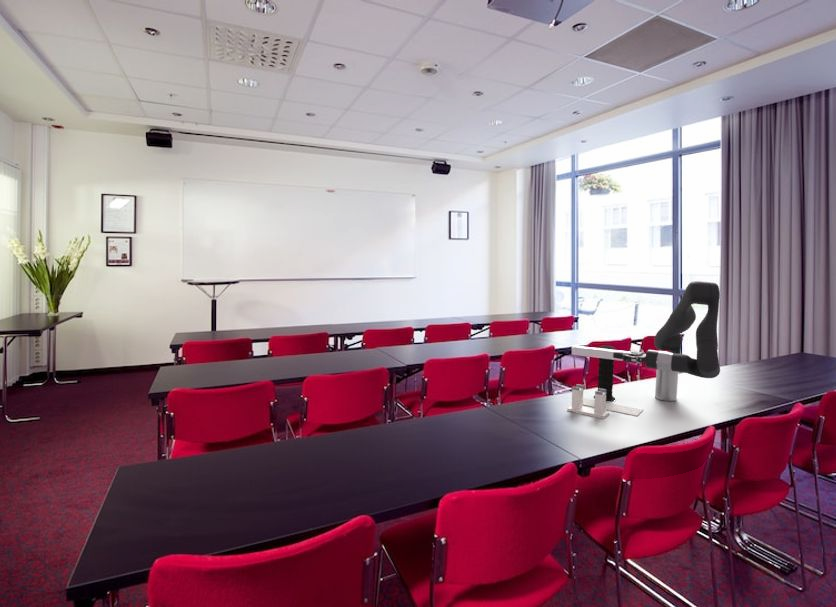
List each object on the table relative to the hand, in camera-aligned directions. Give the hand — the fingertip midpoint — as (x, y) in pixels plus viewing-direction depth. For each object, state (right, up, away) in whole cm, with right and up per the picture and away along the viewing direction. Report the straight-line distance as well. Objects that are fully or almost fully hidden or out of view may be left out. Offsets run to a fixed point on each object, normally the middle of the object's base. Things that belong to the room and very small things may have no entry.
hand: (615, 354), depth 191 cm
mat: (+4, -26, +18) cm, 32 cm away
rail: (-5, -2, +4) cm, 6 cm away
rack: (-8, -27, +9) cm, 30 cm away
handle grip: (+8, -25, +30) cm, 40 cm away
